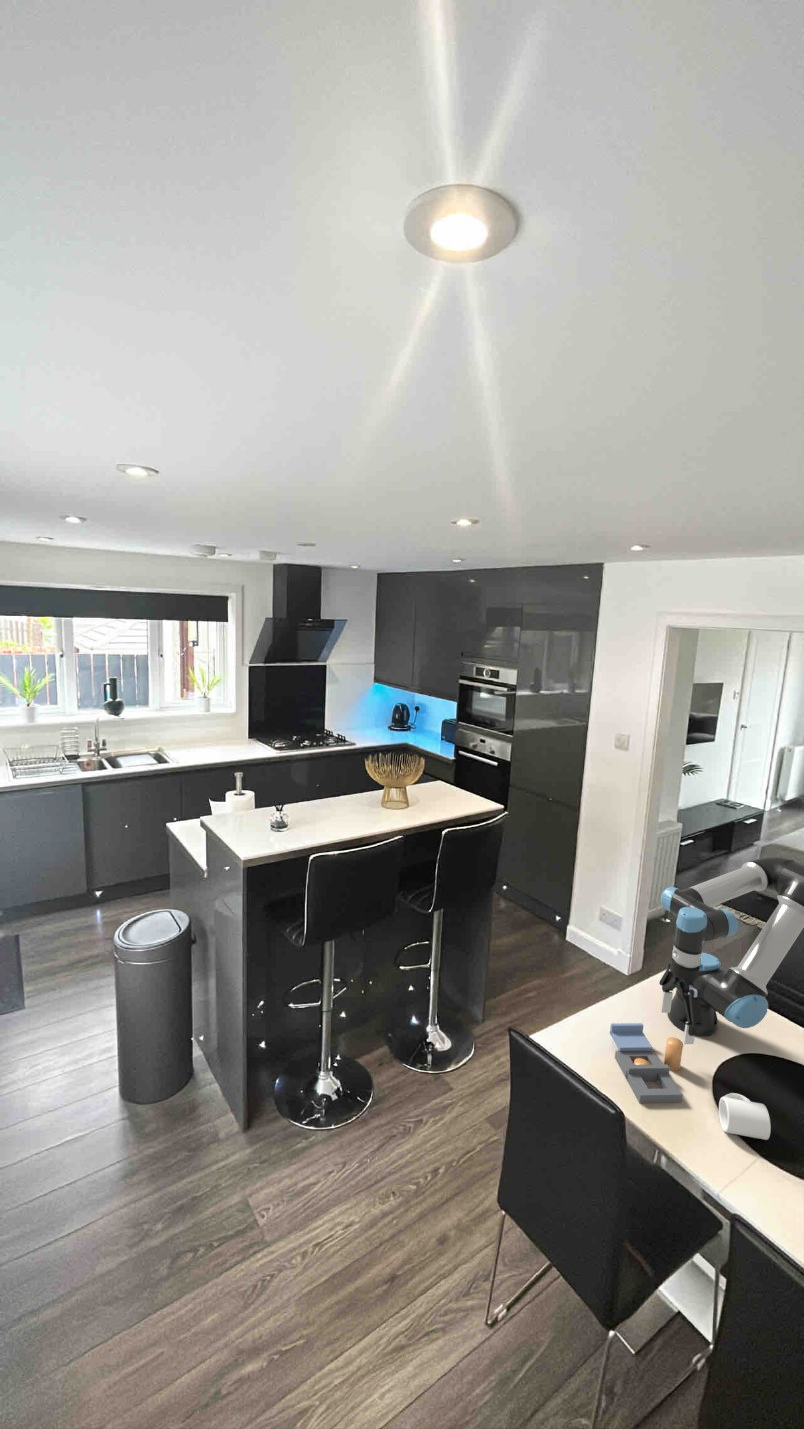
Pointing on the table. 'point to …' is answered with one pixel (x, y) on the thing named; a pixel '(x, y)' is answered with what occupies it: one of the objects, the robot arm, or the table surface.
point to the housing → (648, 1076)
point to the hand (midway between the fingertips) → (676, 1027)
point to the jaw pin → (673, 1053)
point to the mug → (744, 1117)
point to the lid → (629, 1037)
